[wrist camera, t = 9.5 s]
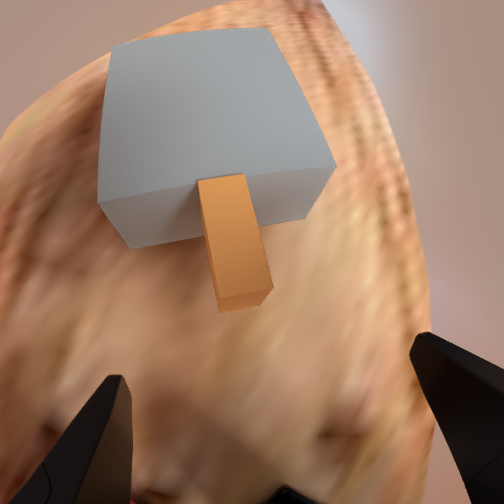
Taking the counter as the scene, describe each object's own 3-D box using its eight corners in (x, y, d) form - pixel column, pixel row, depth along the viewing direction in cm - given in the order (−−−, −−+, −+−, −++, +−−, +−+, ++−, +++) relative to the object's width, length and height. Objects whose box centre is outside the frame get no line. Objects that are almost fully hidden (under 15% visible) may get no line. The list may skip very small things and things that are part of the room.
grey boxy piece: (327, 294, 18) (375, 264, 12) (141, 332, 16) (103, 319, 10) (257, 84, 23) (267, 26, 17) (126, 102, 21) (112, 43, 16)
